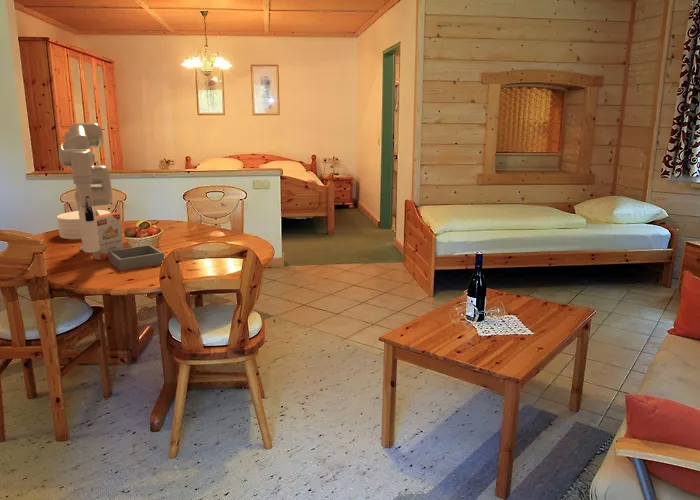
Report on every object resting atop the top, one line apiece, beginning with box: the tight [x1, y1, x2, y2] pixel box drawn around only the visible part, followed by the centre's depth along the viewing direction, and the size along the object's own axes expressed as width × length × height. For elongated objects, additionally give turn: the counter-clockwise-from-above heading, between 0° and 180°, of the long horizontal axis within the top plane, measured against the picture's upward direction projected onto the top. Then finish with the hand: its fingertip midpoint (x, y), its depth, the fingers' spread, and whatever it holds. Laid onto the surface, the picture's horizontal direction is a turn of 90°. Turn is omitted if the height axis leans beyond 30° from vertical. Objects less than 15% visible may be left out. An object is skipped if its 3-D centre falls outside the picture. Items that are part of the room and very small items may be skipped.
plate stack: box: [56, 209, 111, 240], centre depth 330 cm, size 28×28×12 cm
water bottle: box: [78, 204, 100, 254], centre depth 256 cm, size 7×7×25 cm
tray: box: [108, 244, 165, 271], centre depth 270 cm, size 20×20×5 cm
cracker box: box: [92, 212, 124, 261], centre depth 278 cm, size 14×6×21 cm, turn 153°
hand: (87, 219), depth 255 cm, fingers closed on water bottle, 7 cm apart
